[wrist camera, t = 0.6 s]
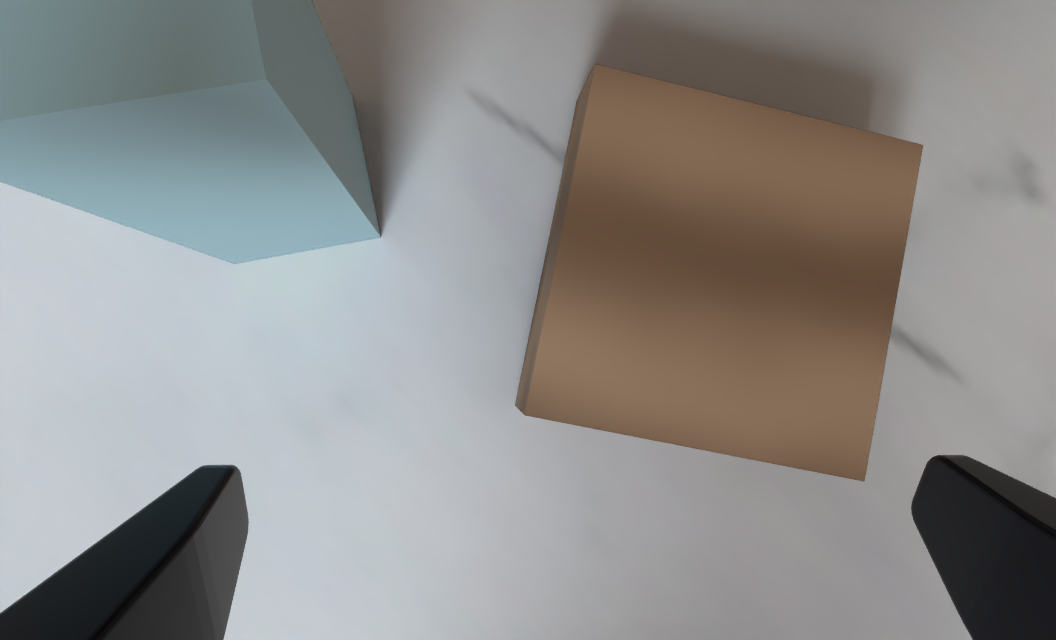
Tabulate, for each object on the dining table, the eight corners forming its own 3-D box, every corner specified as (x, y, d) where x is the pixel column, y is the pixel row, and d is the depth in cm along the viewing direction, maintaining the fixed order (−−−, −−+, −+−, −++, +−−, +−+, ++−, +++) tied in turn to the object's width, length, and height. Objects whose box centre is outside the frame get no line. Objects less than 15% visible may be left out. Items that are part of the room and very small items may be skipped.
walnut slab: (810, 463, 23) (864, 481, 20) (515, 405, 22) (524, 415, 19) (863, 170, 23) (923, 145, 20) (576, 101, 22) (595, 64, 19)
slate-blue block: (380, 236, 22) (266, 78, 9) (234, 264, 21) (-121, 138, 8) (353, 96, 22) (197, -271, 9) (205, 120, 21) (-192, -232, 8)
